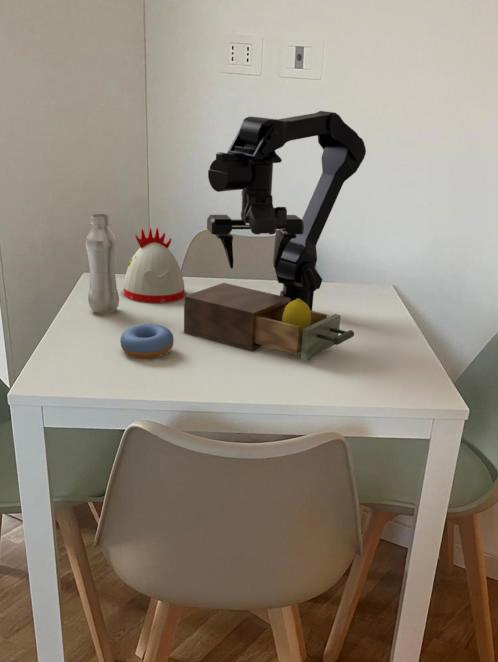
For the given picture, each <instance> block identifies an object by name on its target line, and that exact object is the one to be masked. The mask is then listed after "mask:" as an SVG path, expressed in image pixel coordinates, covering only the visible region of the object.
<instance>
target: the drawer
mask: <svg viewBox="0 0 498 662" xmlns="http://www.w3.org/2000/svg"><path fill="white" fill-rule="evenodd" d="M286 306H287V305H286V304H284V305H282V306H279V307H277V308H274V309H272V310H269V311H267V312H265V313H262V314H260V315H257V316H256V319H255V338H254V343H256V344H259V345H263V346H262V347H267V348H270V349H275V350H279V351H283V352H287V353H290V354H293V355H299V354H300V359H301V360H305V361H307V360H309V359H311V358H313V357H315V356H317V355H318V354H321V353H322V352H324V351H326V350H328V349H330V348H332V347H334V346H338V345H340V344H343V343H344V342H346V341H347V340H350V339H351V338H354V337H355V332H354V330H352V329H349V330H344V329H340V325H341V324H340V323H341V314H338V313H334V314H332V315H330V316H328V313H324V312H319V311H316V310H312V311H311V310H310V311H311V324H310V326H308V327H306V328H304V329H303V335H302V336H300V332H301V326H297V325H293V324H289V323H285V322H282V318H283V313H284V310H285V308H286Z"/></svg>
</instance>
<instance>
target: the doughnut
mask: <svg viewBox="0 0 498 662" xmlns="http://www.w3.org/2000/svg"><path fill="white" fill-rule="evenodd" d="M174 340H175V339H174V335H173V332H172V331H171V330H170V329H169V328H168V327H166V326H164V325H162V324H159V323H140V324H136V325H132V326H130V327H128V328H126V330H124V331H123V332H122V333H121V335H120V339H119V341H120V342H119V343H120V347H121V349H122V351H123V352H124V353H125V354H126V355H128V356H130V357H133V358H135V359H152V358H158V357H161V356H164V355H165V354H168V352H170V351H171V349H172V348H173V347H174Z"/></svg>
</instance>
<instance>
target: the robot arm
mask: <svg viewBox="0 0 498 662" xmlns="http://www.w3.org/2000/svg"><path fill="white" fill-rule="evenodd" d="M311 137H317V142H318V144H319V146H320V147H321V148H322V150H323V151H322V154H321V170H322V172H321V174H320V177H319V180H318V182H317V183H316V186H315V188H314V191H313V194H312V195H311V198H310V200H309V202H308V205H307V207H306V209H305V211H304V214H303V216H302V217H299V216H297V215H296V214H288V209H287V207H286V206H277V207H274V204H273V200H274V199H273V195H272V194H273V193H272V191H273V173H274V164H279V163H280V164H281V163H282V161H283V159H282V157H280V156H279V155H278V154H277V152H276V150H279V149H281V148H282V147H284V146H285V145H286V144H287V143H288V142H290V141H296V140H302V139H306V138H311ZM366 153H367V149H366V145H365V141H364V139H363V138H362V137H360V135H359V134H358V133H357V131H355V130H354V129H353V128H351V127H350V126H349V125H348V124H347V123H346V122H345V121H344V120H343V119H342V117H341V115H340V114H338V113H336V112H332V111H325V110H319V111H316V112H313V113H308V114H307V113H306V114H301V115H295V116H290V117H284V118H268V117H261V116H260V117H259V116H246V117H245V118H243V120H242V123H241V125H240V128H239V129H238V131H237V133H236V135H235V137H234V139H233V140H232V143H231V144H230V146H229V148H228V150H227V152H221V151H219V152H216V153H215V159H214V160H213V161H212V162H211V164H210V165H209V169H208V171H207V177H208V182H209V185H210V187H211V188H212V189H213V191H216V192H218V193H221V192H230V191H239V190H241V212H240V218H241V219H231V217H230V216H229V215H228V214H209V216H208V217H207V219H206V229H207V230H208V232H209V233H210V234H211V235H214V236H215V237H216V238H217V239H219V240H220V242H221V244H222V247H223V249H224V252H225V255H226V259H227V262H228V265H229V268H230V269H234V250H233V249H234V248H233V242H234V241H233V240H234V235H232V234H231V232H232V231H233V230H250V232H251V233H252V234H253V235H261V234H268V235H275V237H274V248H273V257H272V259H273V268H274V272H275V275H276V280H277V283H278V284H282V290H280V292H279V296H284V297H288V298H291V301H294V300H296V299H300V300H301V301H303V302H305V303H306V304H307V305H308V306H309V308H310V310H311V311H313V306H314V305H313V304H314V293H315V292H316V290H320V288H321V285H322V283H323V278H322V276H321V275H320V274H319V272H318V270H316V266H317V262H318V254H317V252H318V251H317V244H318V241H319V240H320V237H321V235H322V233H323V230H324V228H325V226H326V224H327V222H328V219H329V216H330V215H331V212H332V210H333V208H334V205H335V203H336V201H337V199H338V196H339V195H340V192H341V190H342V187H343V185H344V183H345V182H346V181H347V180H348V179H349V178H351V177H352V176H353V175H354V174H356V173H357V171H358V169H359V168H360V167H361V164H362V163H363V161H364V159H365V157H366Z"/></svg>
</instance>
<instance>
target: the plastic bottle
mask: <svg viewBox="0 0 498 662" xmlns="http://www.w3.org/2000/svg"><path fill="white" fill-rule="evenodd" d="M90 220H91V221H90V225H91V226H92V228H91V229H90V230H89V232H88V234H87V236H86V238H85V249H86V253H87V258H88V267H89V290H88V296H87V298H88V305H89V308H90V309H91V311H93V312H95V313H103V314H105V313H113V312H115V311H116V310H117V309H118V308H119V305H120V296H119V291H118V287H117V279H116V257H117V247H118V242H117V239H116V236H115V235H114V233H113V232H112V230H111V229H110V226H111V222H110V215H109V214H106V213H94V214H91V217H90Z"/></svg>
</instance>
